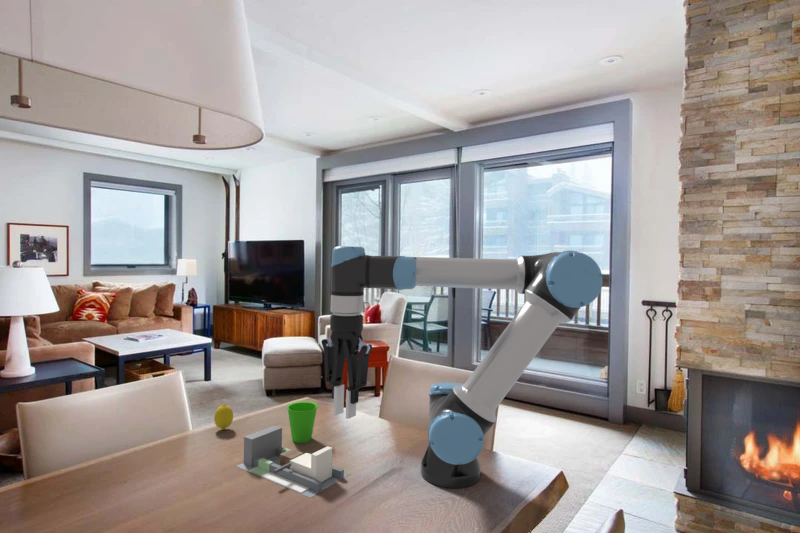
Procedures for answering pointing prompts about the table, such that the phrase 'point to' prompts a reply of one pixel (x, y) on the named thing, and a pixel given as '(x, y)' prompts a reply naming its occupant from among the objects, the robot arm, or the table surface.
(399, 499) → the table surface
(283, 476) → the base
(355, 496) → the table surface
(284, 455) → the tan wooden cube
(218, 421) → the lemon
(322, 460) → the cream block
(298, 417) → the cup
